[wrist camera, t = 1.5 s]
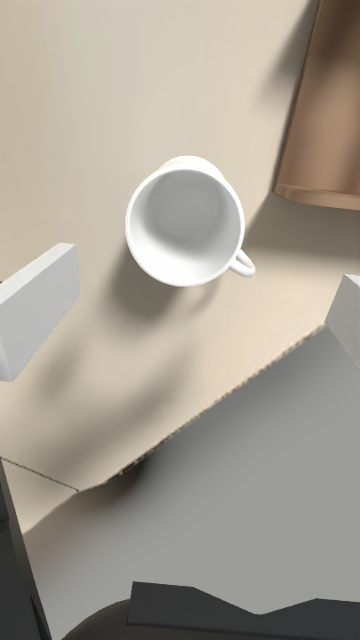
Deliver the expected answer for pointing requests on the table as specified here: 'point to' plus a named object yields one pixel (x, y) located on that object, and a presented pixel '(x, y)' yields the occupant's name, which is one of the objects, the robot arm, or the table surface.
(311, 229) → the table surface
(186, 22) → the table surface
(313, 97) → the rack
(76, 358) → the table surface
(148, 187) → the mug
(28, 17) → the table surface
